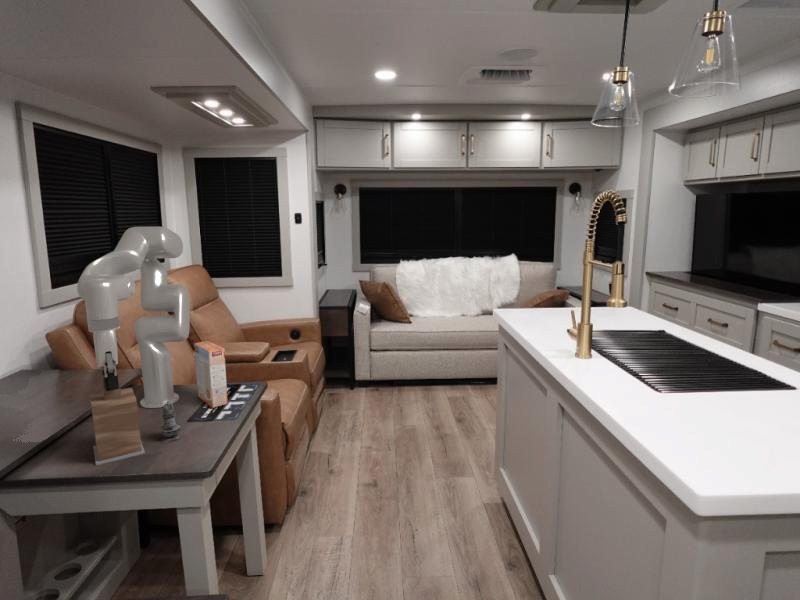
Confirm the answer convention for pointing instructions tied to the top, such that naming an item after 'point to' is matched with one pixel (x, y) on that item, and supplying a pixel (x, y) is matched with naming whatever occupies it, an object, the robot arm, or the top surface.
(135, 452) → the slate mat
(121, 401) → the walnut cover
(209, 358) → the cracker box
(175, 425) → the grey ridged tall piece
